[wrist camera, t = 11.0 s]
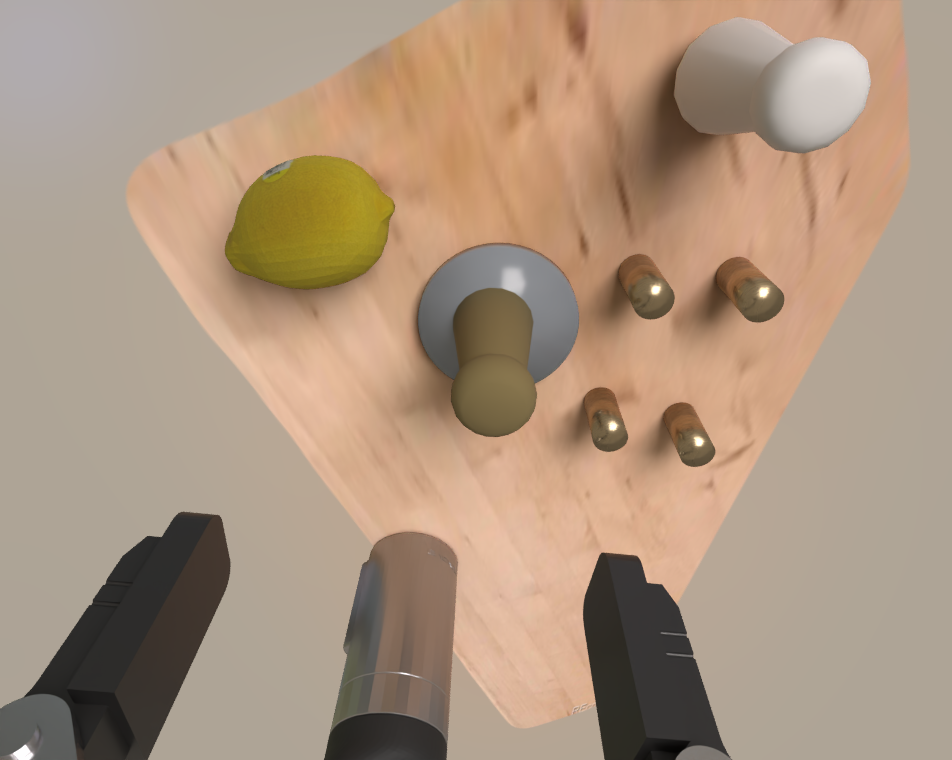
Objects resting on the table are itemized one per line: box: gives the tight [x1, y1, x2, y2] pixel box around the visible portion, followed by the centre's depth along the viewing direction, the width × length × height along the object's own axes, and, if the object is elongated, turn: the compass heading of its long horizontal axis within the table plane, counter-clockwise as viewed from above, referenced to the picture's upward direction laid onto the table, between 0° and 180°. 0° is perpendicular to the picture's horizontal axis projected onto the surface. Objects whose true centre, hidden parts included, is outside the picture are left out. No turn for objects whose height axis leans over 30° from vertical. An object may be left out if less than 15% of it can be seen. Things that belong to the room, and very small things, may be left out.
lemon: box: [225, 155, 395, 289], centre depth 35 cm, size 11×8×8 cm
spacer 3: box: [664, 403, 715, 467], centre depth 45 cm, size 3×3×5 cm
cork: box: [451, 288, 537, 437], centre depth 37 cm, size 6×6×11 cm
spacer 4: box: [716, 257, 784, 322], centre depth 38 cm, size 3×3×5 cm
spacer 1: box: [584, 388, 628, 452], centre depth 44 cm, size 3×3×5 cm
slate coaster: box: [418, 243, 579, 383], centre depth 42 cm, size 12×12×1 cm
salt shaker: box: [674, 17, 871, 153], centre depth 28 cm, size 6×6×13 cm
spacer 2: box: [618, 254, 674, 319], centre depth 38 cm, size 3×3×5 cm
